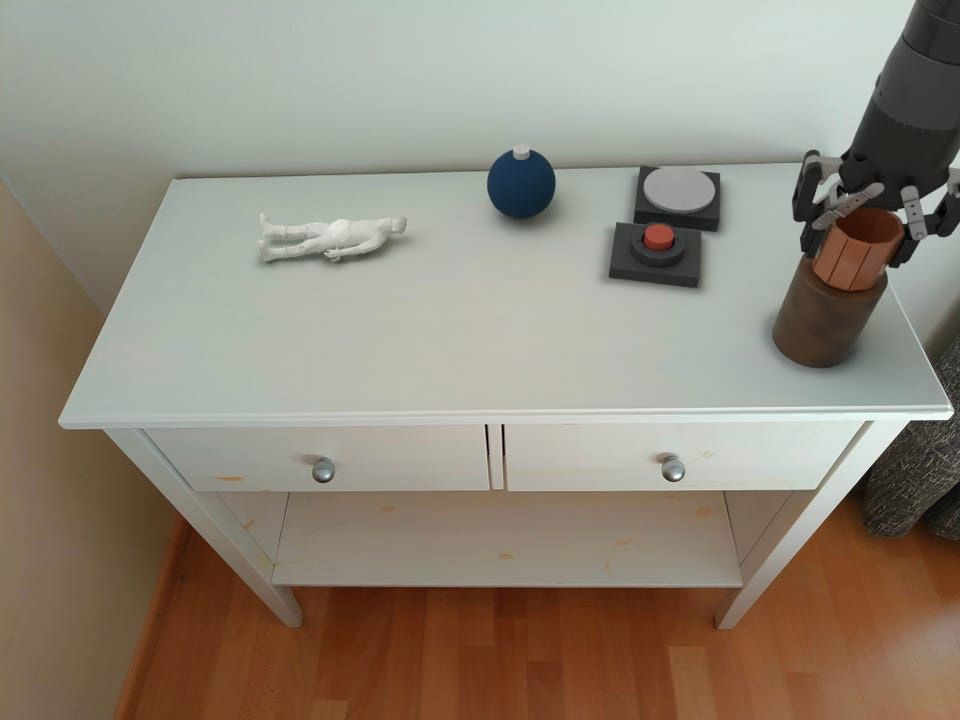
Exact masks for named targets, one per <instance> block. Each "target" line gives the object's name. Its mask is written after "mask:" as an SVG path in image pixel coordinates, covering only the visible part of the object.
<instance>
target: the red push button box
mask: <svg viewBox="0 0 960 720" xmlns="http://www.w3.org/2000/svg"><path fill="white" fill-rule="evenodd" d="M656 224H660V225H665V226H667V227H669V228H670V229H671V230H672V231H673V233H674V237H673V242H672V246H671V247H670V248H669V249H668V250H665V251H653V250H651V249H649V248H647V247H646V245H645V244H644V237H645V231H646V229H647V228H648V227H650V226H652V225H656ZM701 248H702V230H697V229H687V228H678V227H673V226H671V225H669V224H667V223H658V222H651V223H647V224H641V223H629V222H621V221H616V222H615V229H614V235H613V243H612V250H611V257H610V263H609V271H608V278H609V279H618V280H626V281H633V282H635V281H636V282H643V283H651V284H652V283H653V284H659V285H668V286H675V287H676V286H678V287H686V288H693V289H698V287H699V282H700V278H701V254H702V249H701Z"/></svg>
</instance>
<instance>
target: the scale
mask: <svg viewBox="0 0 960 720" xmlns="http://www.w3.org/2000/svg"><path fill="white" fill-rule="evenodd" d="M638 172H639V173H638V179H637V186H636V187H637V188H636V194H635V204H634V210H633V219H632V224H640V225H643V224H647V223H651V222H658V223H667V224H669V225H671V226H673V227H675V228H677V229H687V230H696V231H706V232H707V231H708V232H717V229H718V226H719V222H720V215H721V213H720V212H721V211H720V210H721V207H720V206H721V173H720V172H714V171H713V172H712V171H703V170H697V169H695V168H693V167H687V166H681V165H669V166H664V167H660V166H659V167H658V166H650V165H649V166H647V165H640V167H639V171H638Z"/></svg>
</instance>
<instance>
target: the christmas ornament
mask: <svg viewBox="0 0 960 720" xmlns="http://www.w3.org/2000/svg"><path fill="white" fill-rule="evenodd" d="M556 187H557V179H556V173H555V171H554V169H553V166H552V164H551V163H550V162H549V160H548V159H547V158H546V157H545V156H544V155H543V154H541V153H540V152H538V151H535V150H533V149H531V147H530V146H529V145H527V144H525V143H518V144H516V145H514V146H513V148H512V149H511V150H507V151H506V152H504V153H502V154H501V155H499V157H498V158H497V159H495V161H494V162H493V163H492V165H491V167H490V169H489V170H488V175H487V179H486V190H487V194H488V197H489V200H490V202H491V203H492V205H493V206H494V208H495V209H496V210H497V211H498V212H500V213H501V214H502V215H504V216H506V217H508V218H511V219H515V220H527V219H531V218H534V217H536V216H538V215H539V214H541V213H542V212H544V211H545V210H546V209H547V208H548V207H549V205H550V204H551V203H552V201H553V198H554V197H555V193H556Z"/></svg>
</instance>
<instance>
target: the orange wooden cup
mask: <svg viewBox="0 0 960 720" xmlns="http://www.w3.org/2000/svg"><path fill="white" fill-rule="evenodd" d="M902 223H903V220H902V219H901V217H900V216H898V215H897V214H896V213H895V212H891V211H886V210H882V209H879V208H876V209H861V208H859V207H858V208H857V209H855V210H854V211H852V212H851V213H850V214H848V215H847V216H846V217H844V218H841V217H839V218H837V219H836V220H835V221H833V222H832V223H831V224H829V225H828V226H827V227H825V228H826V232H825V234H824V237H823V239H822V241H821V244H820V246H819V248H818V250H817V253H816V255H815V257H814V259H812V268H813V270H814V272H815V273H816V274H817V275H818V276H819V277H820V278H821V279H822V280H823V281H824V282H825V283H827V284H828V285H830V286H832V287H835V288H838V289H841V290H848V291H855V290H862V289H869V288H871V287H872V286H873V285H874V284H875V283H876V282H877V281H878V280H879V279H880V278H881V276H882V275H883V273H884V271H885V270H886V269H887V267H888V263H889V262H890V260H891V258H892V256H893V254H894V252H895V251H896V249H897V247H898V245H899V243H900V241H901V239H902V238H903V236H904V228H903V224H904V223H903V224H902Z"/></svg>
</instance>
